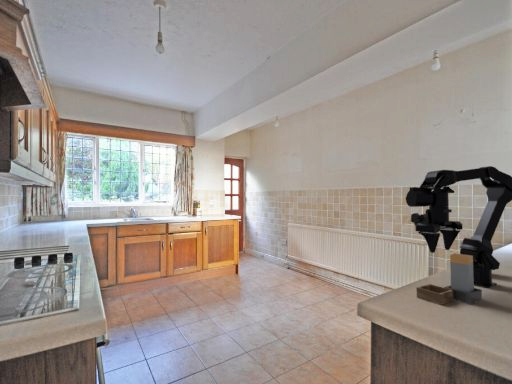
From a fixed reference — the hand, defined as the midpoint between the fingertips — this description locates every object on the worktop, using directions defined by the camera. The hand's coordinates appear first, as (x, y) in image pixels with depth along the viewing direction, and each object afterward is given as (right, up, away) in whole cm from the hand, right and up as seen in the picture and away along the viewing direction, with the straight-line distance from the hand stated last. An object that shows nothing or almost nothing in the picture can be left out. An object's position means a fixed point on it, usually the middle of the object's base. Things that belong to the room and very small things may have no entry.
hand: (439, 251), depth 93 cm
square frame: (-10, -12, -12) cm, 19 cm away
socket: (-1, -12, -12) cm, 17 cm away
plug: (-1, -12, -12) cm, 17 cm away
